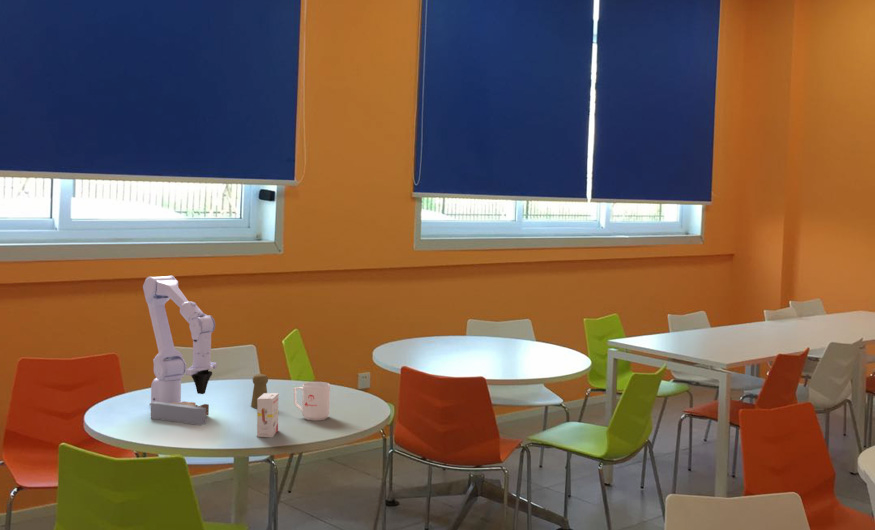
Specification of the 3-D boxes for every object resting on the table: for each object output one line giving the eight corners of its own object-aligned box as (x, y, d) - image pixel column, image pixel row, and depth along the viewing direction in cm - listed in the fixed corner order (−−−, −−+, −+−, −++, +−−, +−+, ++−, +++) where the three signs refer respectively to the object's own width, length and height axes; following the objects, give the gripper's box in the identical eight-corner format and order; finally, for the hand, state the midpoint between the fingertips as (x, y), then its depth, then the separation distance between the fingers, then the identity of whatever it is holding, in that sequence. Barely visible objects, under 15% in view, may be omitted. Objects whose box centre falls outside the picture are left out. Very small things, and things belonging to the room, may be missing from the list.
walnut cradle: (168, 417, 288) (168, 403, 288) (184, 411, 296) (184, 398, 295) (193, 420, 285) (194, 406, 285) (208, 415, 292) (208, 401, 292)
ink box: (262, 429, 277) (263, 392, 276) (278, 430, 277) (279, 392, 276) (256, 437, 269) (256, 398, 268) (272, 437, 269) (273, 398, 268)
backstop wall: (150, 418, 287) (150, 402, 287) (155, 416, 289) (155, 401, 289) (201, 425, 281) (201, 409, 280) (205, 423, 283) (205, 407, 282)
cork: (264, 408, 305) (265, 376, 304) (248, 407, 306) (248, 375, 305) (271, 405, 311) (272, 373, 310) (255, 403, 312) (255, 372, 311)
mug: (332, 415, 298) (333, 382, 297) (324, 422, 289) (325, 388, 288) (298, 413, 300) (298, 380, 299) (289, 419, 291) (289, 385, 291)
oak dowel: (179, 417, 289) (180, 404, 289) (187, 415, 293) (187, 401, 293) (190, 419, 288) (190, 405, 287) (197, 416, 291) (198, 402, 291)
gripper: (198, 357, 287) (198, 399, 288) (224, 350, 301) (224, 390, 302) (180, 355, 289) (179, 396, 290) (207, 348, 303) (206, 388, 304)
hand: (201, 393), depth 296 cm, fingers closed
